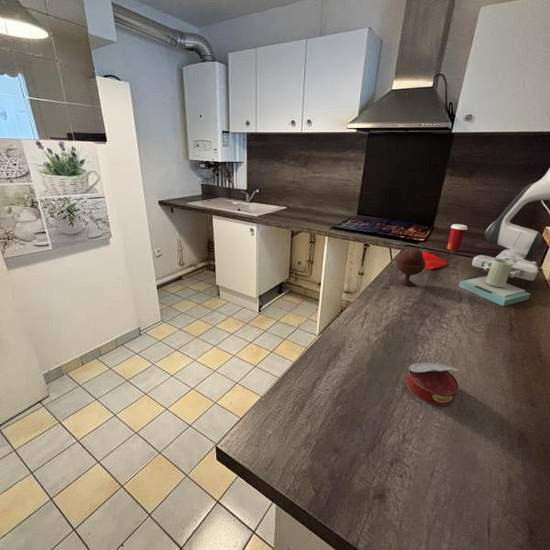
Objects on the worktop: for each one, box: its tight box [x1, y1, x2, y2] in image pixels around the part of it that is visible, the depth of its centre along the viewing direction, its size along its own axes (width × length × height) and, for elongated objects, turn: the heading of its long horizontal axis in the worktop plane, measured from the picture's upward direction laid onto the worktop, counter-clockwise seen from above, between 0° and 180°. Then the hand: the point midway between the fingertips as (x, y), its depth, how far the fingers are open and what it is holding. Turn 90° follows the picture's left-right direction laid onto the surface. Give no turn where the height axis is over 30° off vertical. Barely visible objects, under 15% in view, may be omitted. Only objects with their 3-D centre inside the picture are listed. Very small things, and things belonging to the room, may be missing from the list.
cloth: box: [422, 251, 448, 271], centre depth 142 cm, size 26×14×2 cm, turn 149°
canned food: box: [405, 361, 460, 406], centre depth 64 cm, size 11×10×10 cm
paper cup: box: [446, 223, 468, 251], centre depth 158 cm, size 8×8×14 cm
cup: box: [486, 259, 514, 287], centre depth 109 cm, size 6×6×9 cm
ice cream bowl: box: [395, 248, 426, 287], centre depth 115 cm, size 11×11×15 cm
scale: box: [458, 275, 531, 307], centre depth 112 cm, size 17×15×3 cm
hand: (499, 271), depth 108 cm, fingers closed on cup, 6 cm apart
